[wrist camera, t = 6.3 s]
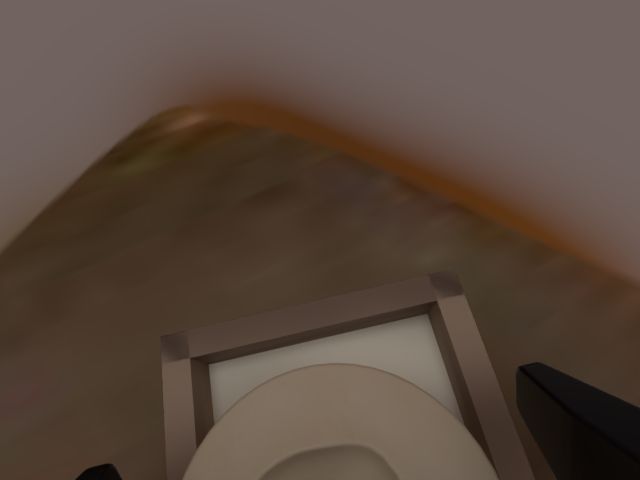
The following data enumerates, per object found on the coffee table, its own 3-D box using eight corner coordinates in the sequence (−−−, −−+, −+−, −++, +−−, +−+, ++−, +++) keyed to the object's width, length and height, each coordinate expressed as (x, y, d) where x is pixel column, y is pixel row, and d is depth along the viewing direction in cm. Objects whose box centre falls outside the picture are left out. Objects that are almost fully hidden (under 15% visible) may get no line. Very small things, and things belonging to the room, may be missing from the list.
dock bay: (549, 609, 13) (606, 666, 10) (219, 692, 13) (180, 774, 10) (437, 292, 17) (454, 268, 14) (193, 349, 17) (160, 336, 14)
